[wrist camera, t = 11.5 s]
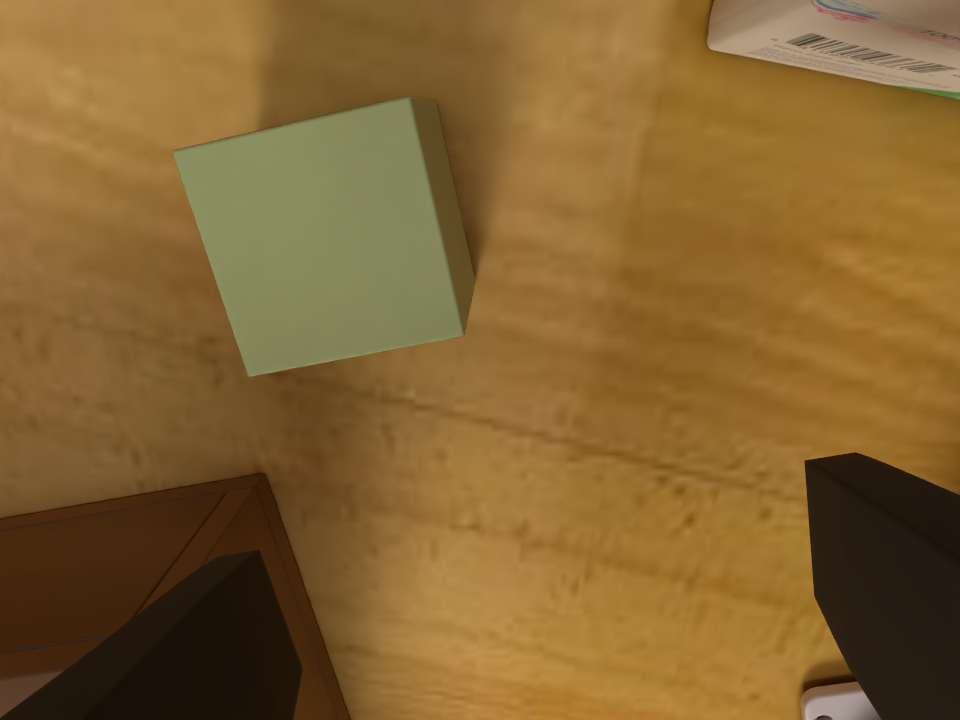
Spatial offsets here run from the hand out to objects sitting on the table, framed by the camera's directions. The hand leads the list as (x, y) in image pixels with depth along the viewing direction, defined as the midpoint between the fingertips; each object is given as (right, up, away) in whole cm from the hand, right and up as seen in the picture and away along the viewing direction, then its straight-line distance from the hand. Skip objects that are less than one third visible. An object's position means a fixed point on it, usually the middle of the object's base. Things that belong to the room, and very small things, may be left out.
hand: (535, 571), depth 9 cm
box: (-3, +6, +8) cm, 11 cm away
